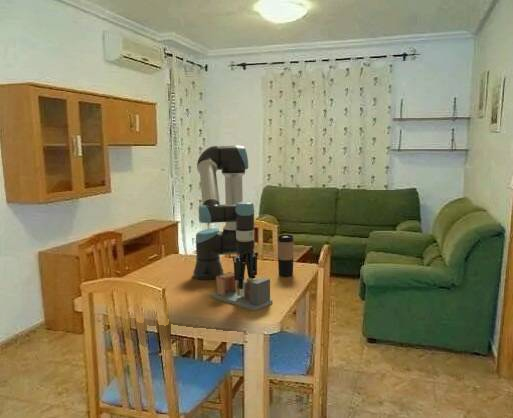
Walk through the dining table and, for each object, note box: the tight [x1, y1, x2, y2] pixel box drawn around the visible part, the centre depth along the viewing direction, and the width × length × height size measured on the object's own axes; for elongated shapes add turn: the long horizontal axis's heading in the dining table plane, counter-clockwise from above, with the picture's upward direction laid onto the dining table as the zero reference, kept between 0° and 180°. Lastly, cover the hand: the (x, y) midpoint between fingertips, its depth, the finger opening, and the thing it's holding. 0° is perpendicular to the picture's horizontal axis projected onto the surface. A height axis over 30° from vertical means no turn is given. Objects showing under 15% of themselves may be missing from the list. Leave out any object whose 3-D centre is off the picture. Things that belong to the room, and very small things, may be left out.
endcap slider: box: [215, 271, 237, 296], centre depth 195 cm, size 4×8×8 cm, turn 139°
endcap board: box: [211, 276, 273, 312], centre depth 189 cm, size 25×11×11 cm, turn 49°
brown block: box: [237, 278, 251, 299], centre depth 185 cm, size 12×4×6 cm, turn 49°
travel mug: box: [277, 234, 294, 278], centre depth 224 cm, size 8×8×20 cm
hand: (246, 294), depth 187 cm, fingers closed on brown block, 4 cm apart
